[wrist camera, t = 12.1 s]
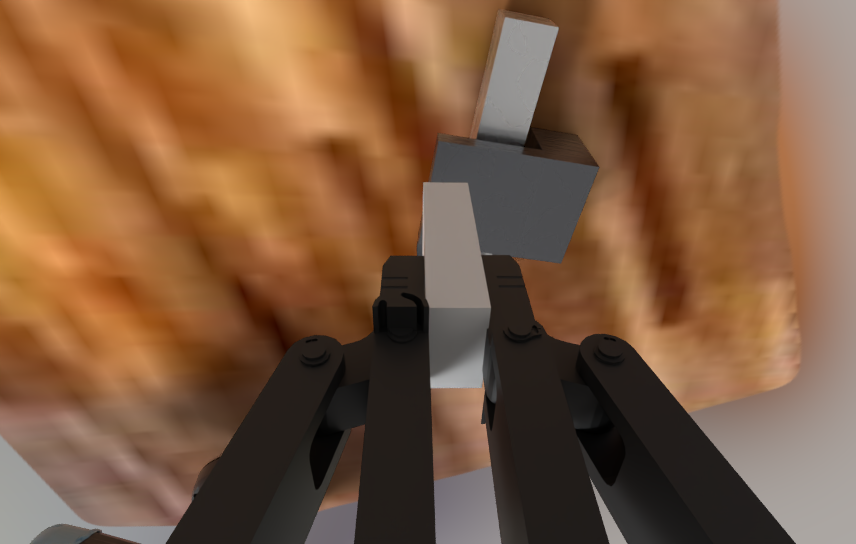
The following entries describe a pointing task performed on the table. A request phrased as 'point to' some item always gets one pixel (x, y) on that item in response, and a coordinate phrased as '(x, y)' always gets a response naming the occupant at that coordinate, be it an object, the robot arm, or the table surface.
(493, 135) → the link
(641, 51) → the table surface
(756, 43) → the table surface
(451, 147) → the keeper bracket
